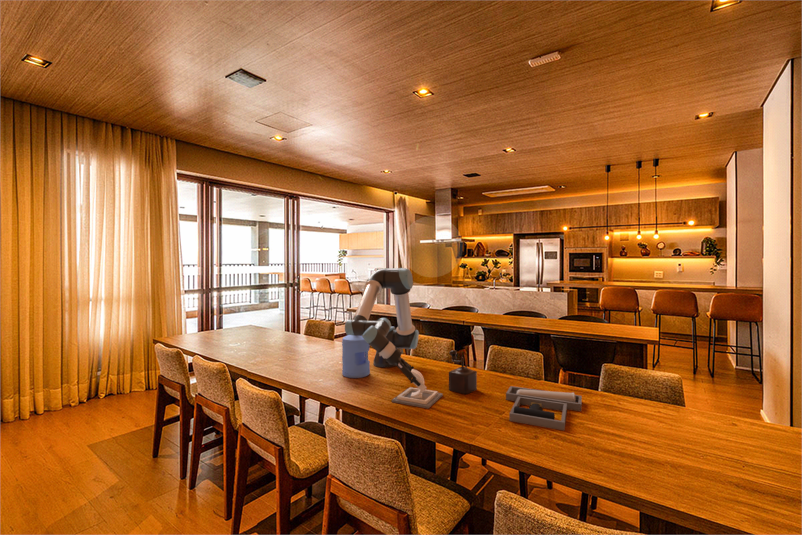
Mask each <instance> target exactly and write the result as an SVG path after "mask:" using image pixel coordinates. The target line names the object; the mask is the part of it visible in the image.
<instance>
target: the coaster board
mask: <svg viewBox="0 0 802 535" xmlns="http://www.w3.org/2000/svg"><path fill="white" fill-rule="evenodd" d="M419 390H420V389H419V388H418V387H411V386H410V387H408V388H406V389H405V390H403V391H402V392H400V393H399V394H398V395H397V396H395V397H394V398H392V399H391V403H393V404H394V403H395V404H401V405H407V406H413V407H418V408H424V409H430V408H431V407H433V405H434V404H435V403H436V402H437V401H439V400H440V399H441V398H442V397H443V396H444V395H443V394H444V393H441V392H439V391H437V390H431V389H425V390H424V391H423V392H422V398H411V394H412V393H414V392H417V391H419Z"/></svg>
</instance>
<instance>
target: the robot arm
mask: <svg viewBox="0 0 802 535" xmlns="http://www.w3.org/2000/svg"><path fill="white" fill-rule="evenodd" d="M413 279H414V278H413V274H412V271H411V270H410V269H409V268H404V267H398V268H397V267H395V268H394V267H393V268H389V267H388V268H387V267H385V268H379V269H377V270H376V271H374V272H373V273H372V274H371V275H369V277H368V278H367V280H366V282H365V285H364V287H365V289H364V292H363V294H362V297H361V299H360V301H359V303H358V306H357V307H356V311H355V313H354V315H353V318H352V319H347V320H346V321H345V324H344V332H345V334H346V336H347V335H354V336H362V337H363V338H364V340H365V341H366V342H367V343H368V344H369V346H371V348H372V349H374V351H375V355H374V358H373V366H375V367H377V368H393V367H397V368H398V369H399V370H400V371H401V372H402V374H404V375H405V377H406V378H407V379H408V381H409V383H410V384H413V385H414V386H416V388H419V389H420V390H421V391H422V392H423V391H424V390H427V388H428V387H427V386H426V385H425V383H424V384H423V383H422V382H421V380H420V378H419V377H418V376H416V375H415V374H412V372H411V370H412V369H414V368H415V366H413V365H411V364H410V363H409V362H407V361H406V360H404V358H403V357H401V356H402V351H400V350H401V349H403V350H414V349H416V348H417V347H418V342H419V337H420V336H419V335H420V332H419V330H418V329H416V327H415V325H414V324H413V322H412V312H411V304H410V297H409V293H410V292H411V289H413V287H414V286H413V285H414V282H413V281H414V280H413ZM383 289H387V290H390V293H391V294H392V295H393V300H394V307H395V314H396V320H397V327H395V326H392V324H391V323H392V322H391V321H390V320H389V319H388V318H387V317H381V318H378V319H377V320H369V319H370V316H371V315H372V314H371V313H372V311H373V308H374V306H375V304H376V301H377V298H378V295H379V293H381V292H382V290H383Z"/></svg>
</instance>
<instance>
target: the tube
mask: <svg viewBox="0 0 802 535" xmlns="http://www.w3.org/2000/svg"><path fill="white" fill-rule="evenodd" d="M538 390H539V389H535V390H524V389H519V390H518V391H517V393H516V394H520V395H527V396H534V397H541V398H548V399H554V400H561V401H568V402H575V395H576V394H575V392H563V391H551V390H550V391H549V390H543V391H538ZM575 403H576V402H575Z"/></svg>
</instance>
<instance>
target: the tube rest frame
mask: <svg viewBox="0 0 802 535" xmlns="http://www.w3.org/2000/svg"><path fill="white" fill-rule="evenodd" d="M519 389H524V390H536V389H535V388H534V389H533V388H527V387H520V386H514V385H513V386H512V385H510V386H509V388H508V390H507V391H506V393H505V401H512V402H515V401H516V399H517V397H518V396H519V397H526V398H533V399H540V400H546V401H553V402H560V403H567V410H570V411H576V412H582V405H583V404H582V398H583V397H582V395H578V394H575V402H568V401H561V400H554V399H548V398H541V397H534V396H527V395H520V394H516V393H517V391H518V390H519ZM537 390H538V391H544V390H542V389H537Z"/></svg>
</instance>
